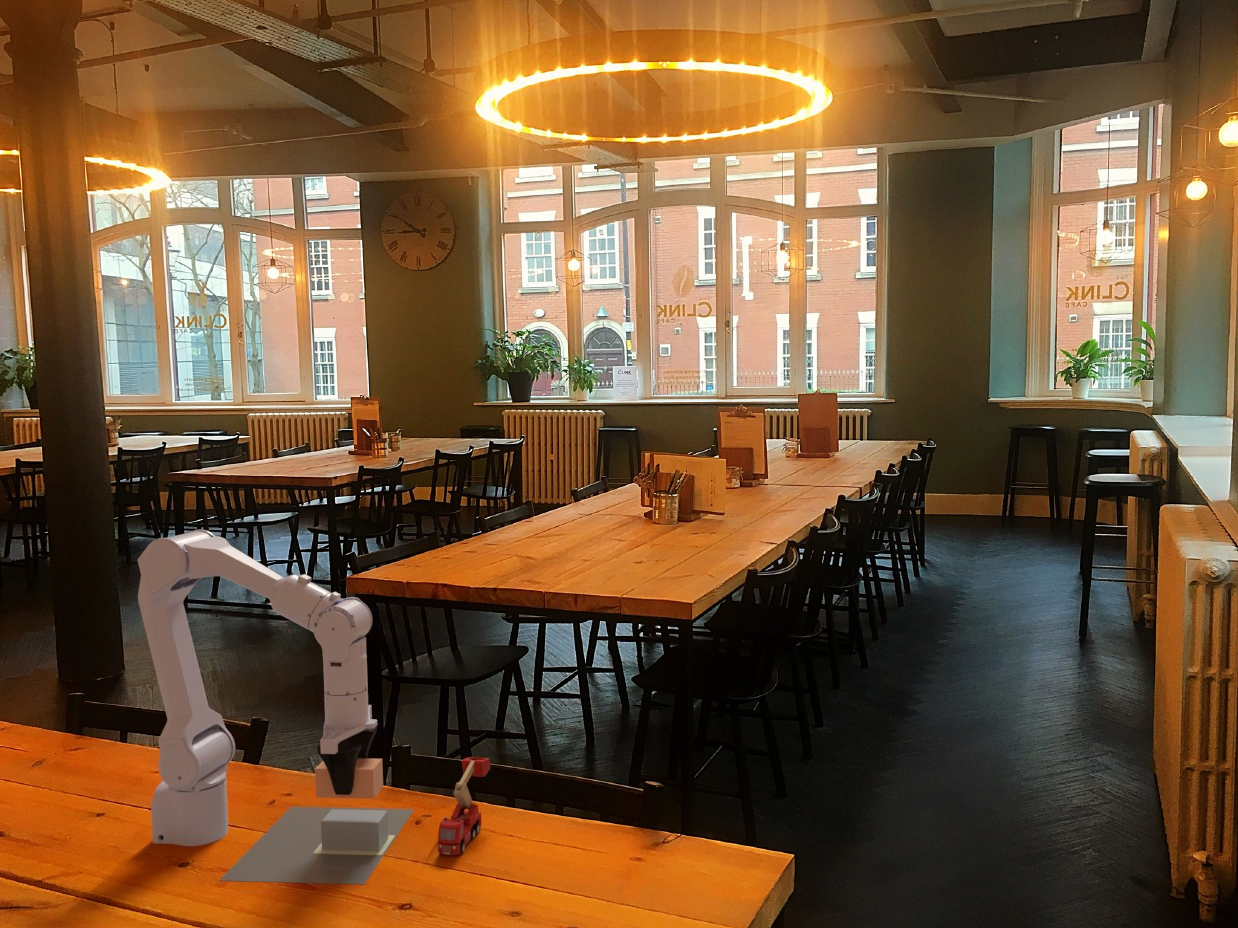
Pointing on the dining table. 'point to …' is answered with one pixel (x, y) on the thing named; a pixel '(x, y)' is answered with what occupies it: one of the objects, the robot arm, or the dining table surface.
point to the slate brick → (354, 830)
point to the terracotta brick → (365, 780)
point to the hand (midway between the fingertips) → (349, 787)
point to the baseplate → (310, 851)
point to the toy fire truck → (462, 811)
